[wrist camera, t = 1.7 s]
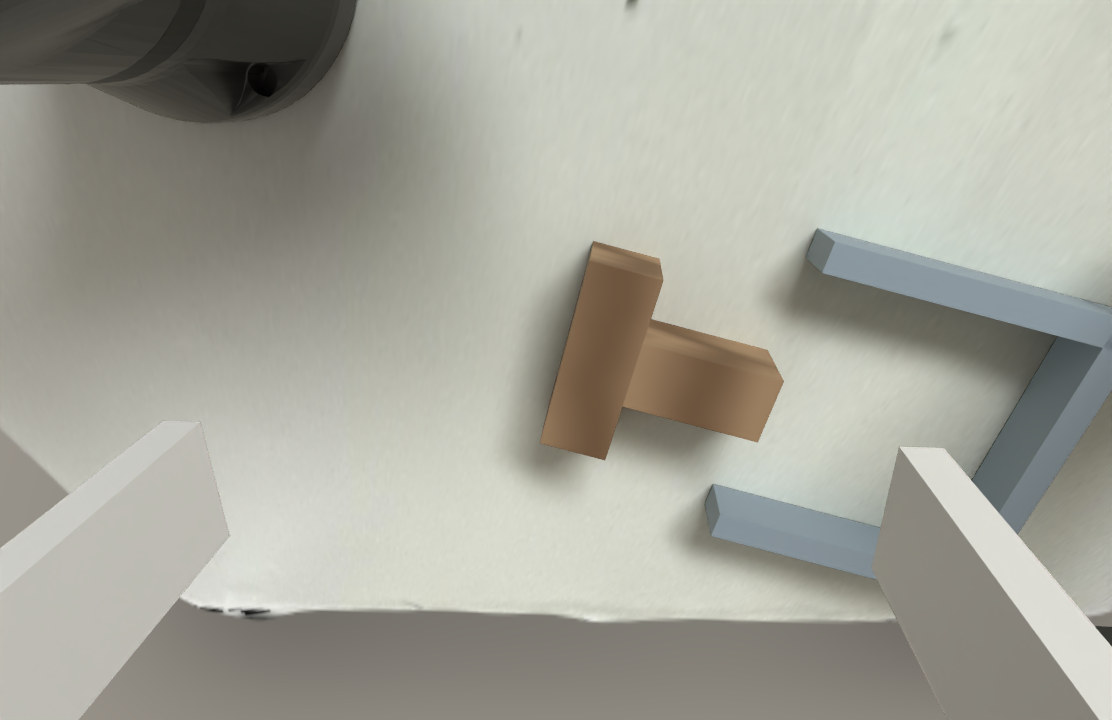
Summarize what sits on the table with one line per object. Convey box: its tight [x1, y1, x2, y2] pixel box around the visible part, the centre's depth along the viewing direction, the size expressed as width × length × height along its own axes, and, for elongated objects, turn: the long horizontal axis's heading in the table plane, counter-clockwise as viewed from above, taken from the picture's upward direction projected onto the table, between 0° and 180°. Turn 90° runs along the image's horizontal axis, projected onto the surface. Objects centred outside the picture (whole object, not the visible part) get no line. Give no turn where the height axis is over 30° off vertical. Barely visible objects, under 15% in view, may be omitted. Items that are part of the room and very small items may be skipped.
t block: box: [540, 241, 784, 460], centre depth 34 cm, size 10×10×4 cm
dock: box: [705, 228, 1112, 580], centre depth 35 cm, size 15×17×3 cm
